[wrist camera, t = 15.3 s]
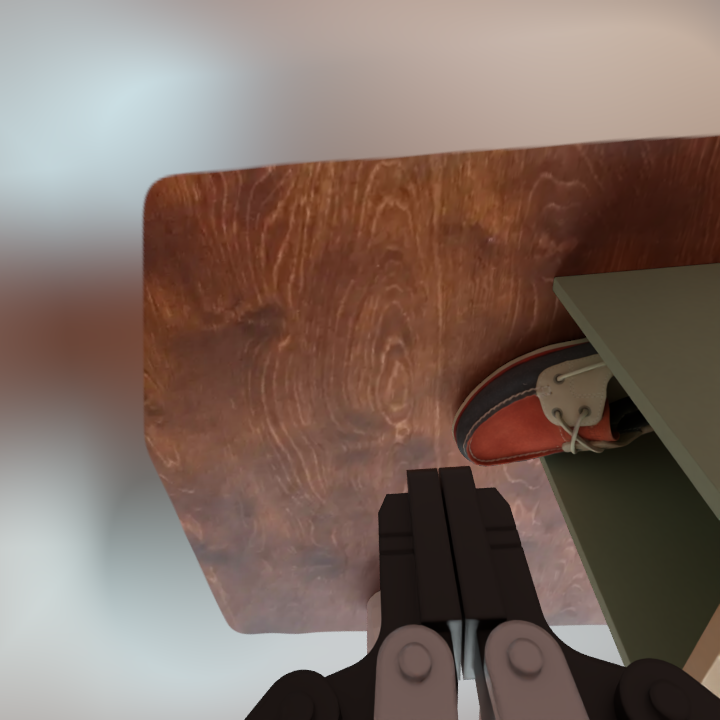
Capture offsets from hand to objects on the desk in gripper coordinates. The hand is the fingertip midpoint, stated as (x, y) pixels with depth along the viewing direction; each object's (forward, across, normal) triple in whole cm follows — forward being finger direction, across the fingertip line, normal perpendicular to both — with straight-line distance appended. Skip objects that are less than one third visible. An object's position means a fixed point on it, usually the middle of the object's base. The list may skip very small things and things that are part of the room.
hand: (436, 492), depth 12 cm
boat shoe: (+29, -17, +18) cm, 38 cm away
